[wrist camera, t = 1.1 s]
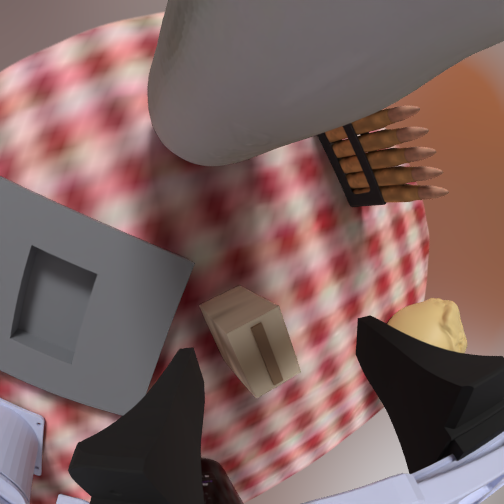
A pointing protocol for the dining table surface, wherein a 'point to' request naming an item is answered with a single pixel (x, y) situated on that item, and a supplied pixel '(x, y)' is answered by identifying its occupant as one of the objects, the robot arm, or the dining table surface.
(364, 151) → the ammunition clip
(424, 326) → the sculpture
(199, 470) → the robot arm
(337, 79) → the grey bottle
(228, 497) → the supplement bottle
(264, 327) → the peg
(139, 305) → the slot board
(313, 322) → the dining table surface
